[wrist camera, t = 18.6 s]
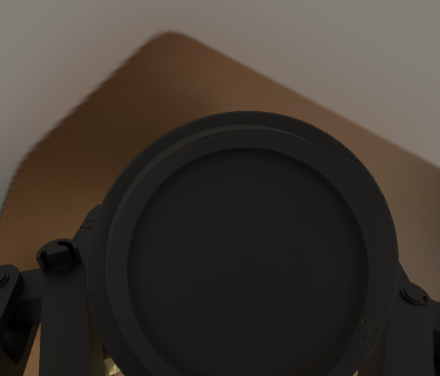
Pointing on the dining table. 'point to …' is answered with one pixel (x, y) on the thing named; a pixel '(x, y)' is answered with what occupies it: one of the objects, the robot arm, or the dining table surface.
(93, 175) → the dining table surface
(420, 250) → the dining table surface
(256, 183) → the coffee cup
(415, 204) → the dining table surface
